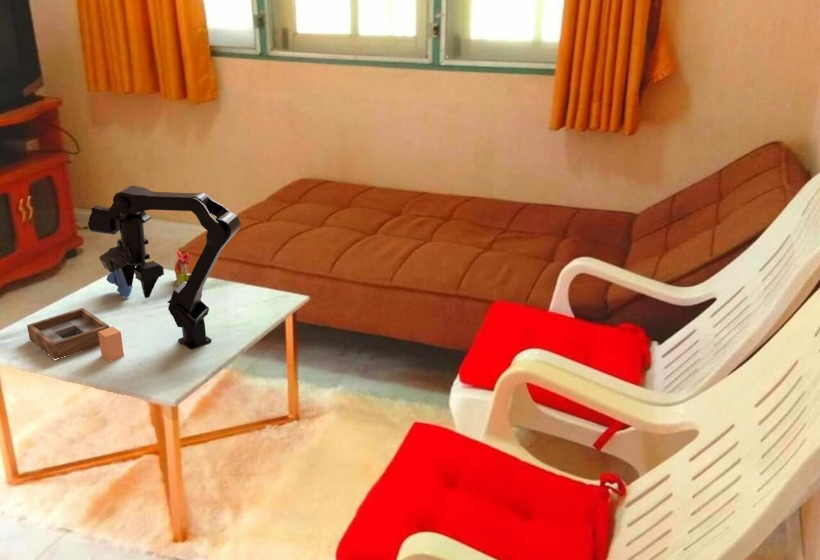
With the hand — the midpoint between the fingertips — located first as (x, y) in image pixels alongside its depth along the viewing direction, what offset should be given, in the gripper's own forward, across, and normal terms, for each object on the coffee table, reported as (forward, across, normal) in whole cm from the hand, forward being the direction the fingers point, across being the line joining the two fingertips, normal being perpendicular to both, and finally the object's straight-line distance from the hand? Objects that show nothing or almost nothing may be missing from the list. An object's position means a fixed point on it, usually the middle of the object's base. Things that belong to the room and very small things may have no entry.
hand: (138, 291), depth 202 cm
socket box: (+14, -10, -15) cm, 23 cm away
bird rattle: (+14, -23, +26) cm, 37 cm away
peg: (+13, +5, -11) cm, 18 cm away
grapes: (+14, -28, +8) cm, 32 cm away
